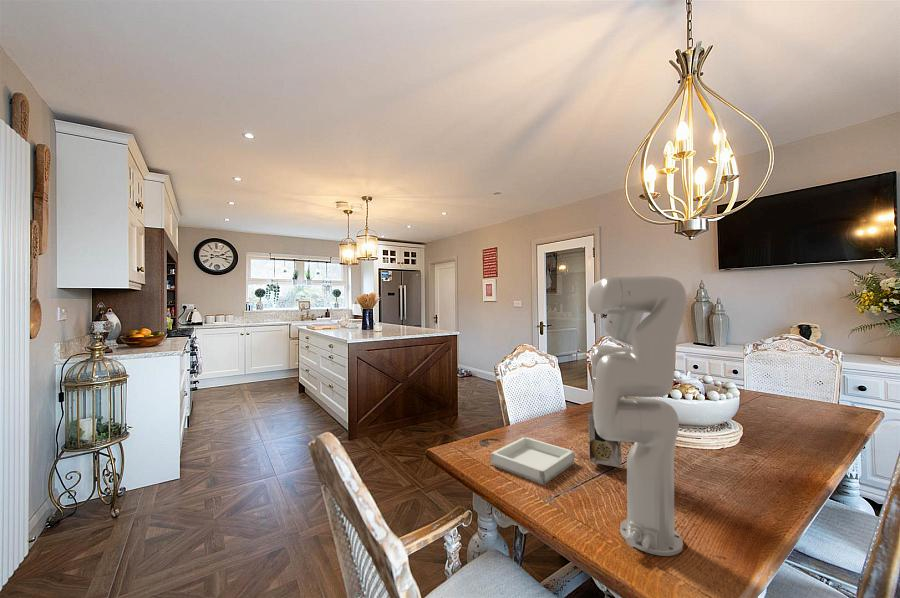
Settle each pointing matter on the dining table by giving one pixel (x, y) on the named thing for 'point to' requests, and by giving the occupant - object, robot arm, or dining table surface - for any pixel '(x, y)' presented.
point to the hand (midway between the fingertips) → (605, 437)
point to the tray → (533, 459)
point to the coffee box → (603, 448)
